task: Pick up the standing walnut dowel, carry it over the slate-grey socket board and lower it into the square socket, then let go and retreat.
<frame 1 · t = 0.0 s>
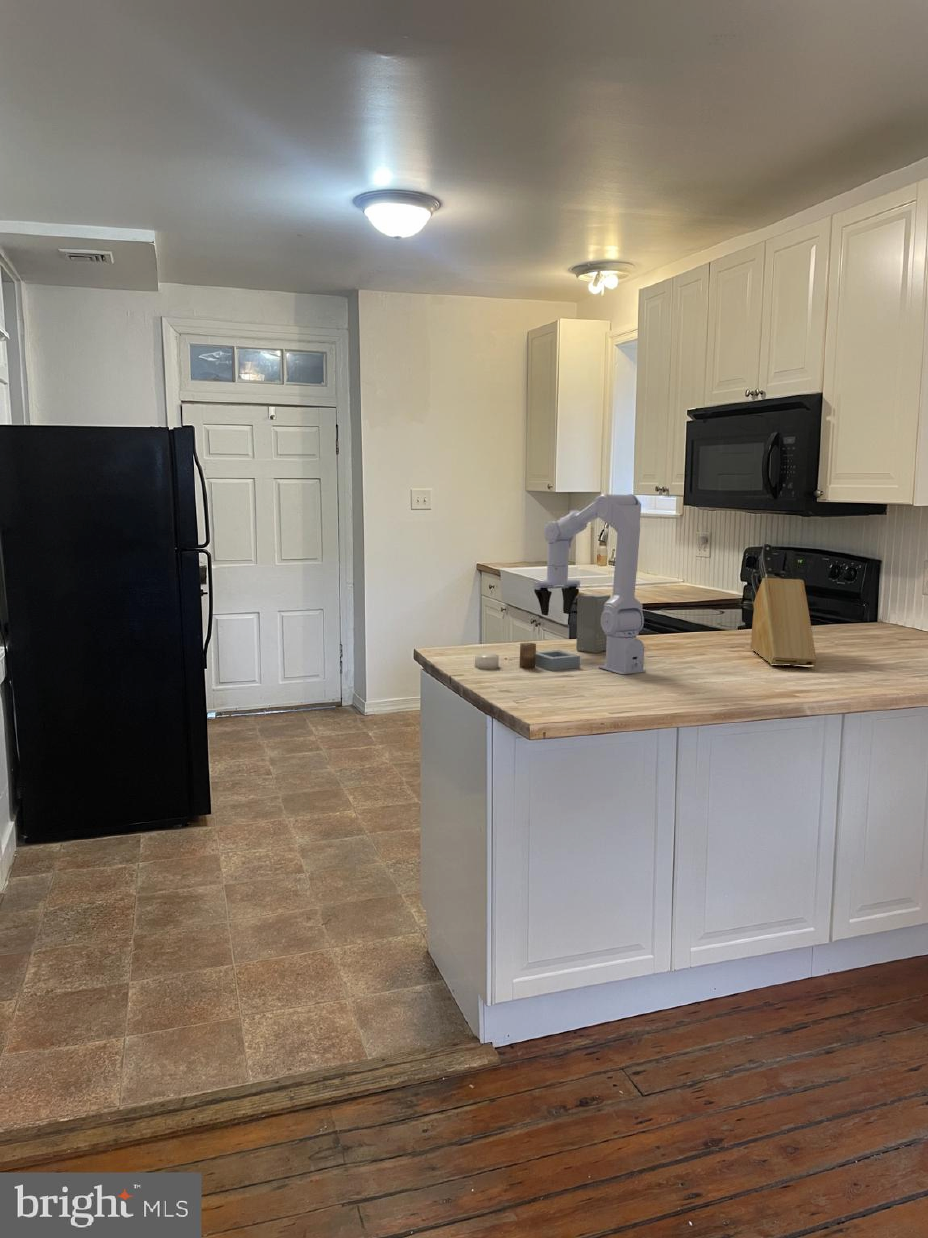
hand: (555, 614, 248), 10 cm above the worktop, tool pointing down, fingers open, 7 cm apart
walnut dowel: (527, 667, 226), on the worktop
knife block: (777, 658, 248), on the worktop
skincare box: (591, 650, 251), on the worktop, touching gripper
socket board: (554, 665, 229), on the worktop
ivory rounded cylinder: (486, 667, 226), on the worktop
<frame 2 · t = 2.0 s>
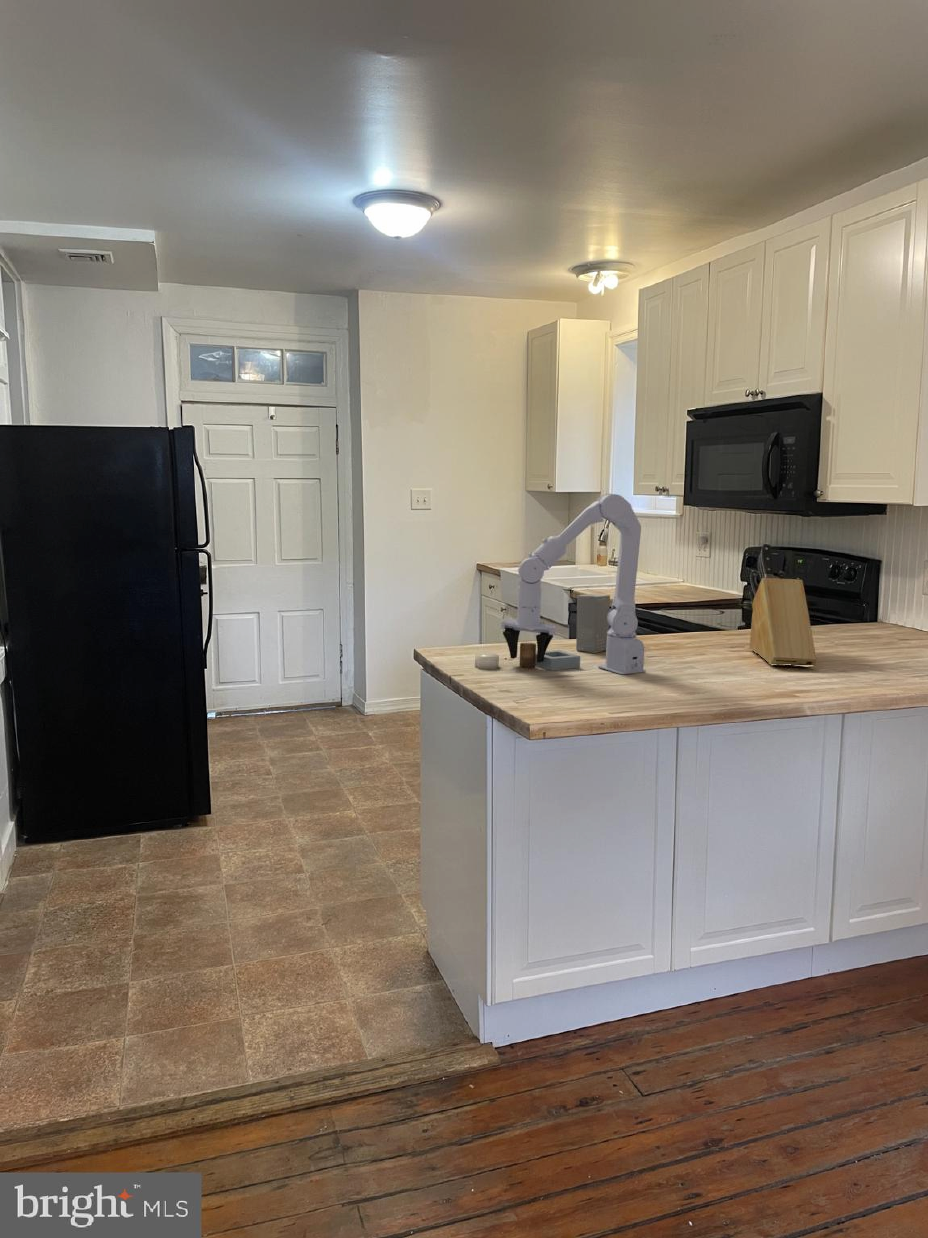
hand: (526, 659, 226), 2 cm above the worktop, tool pointing down, fingers open, 7 cm apart
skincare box: (591, 651, 251), on the worktop
everything else where it was.
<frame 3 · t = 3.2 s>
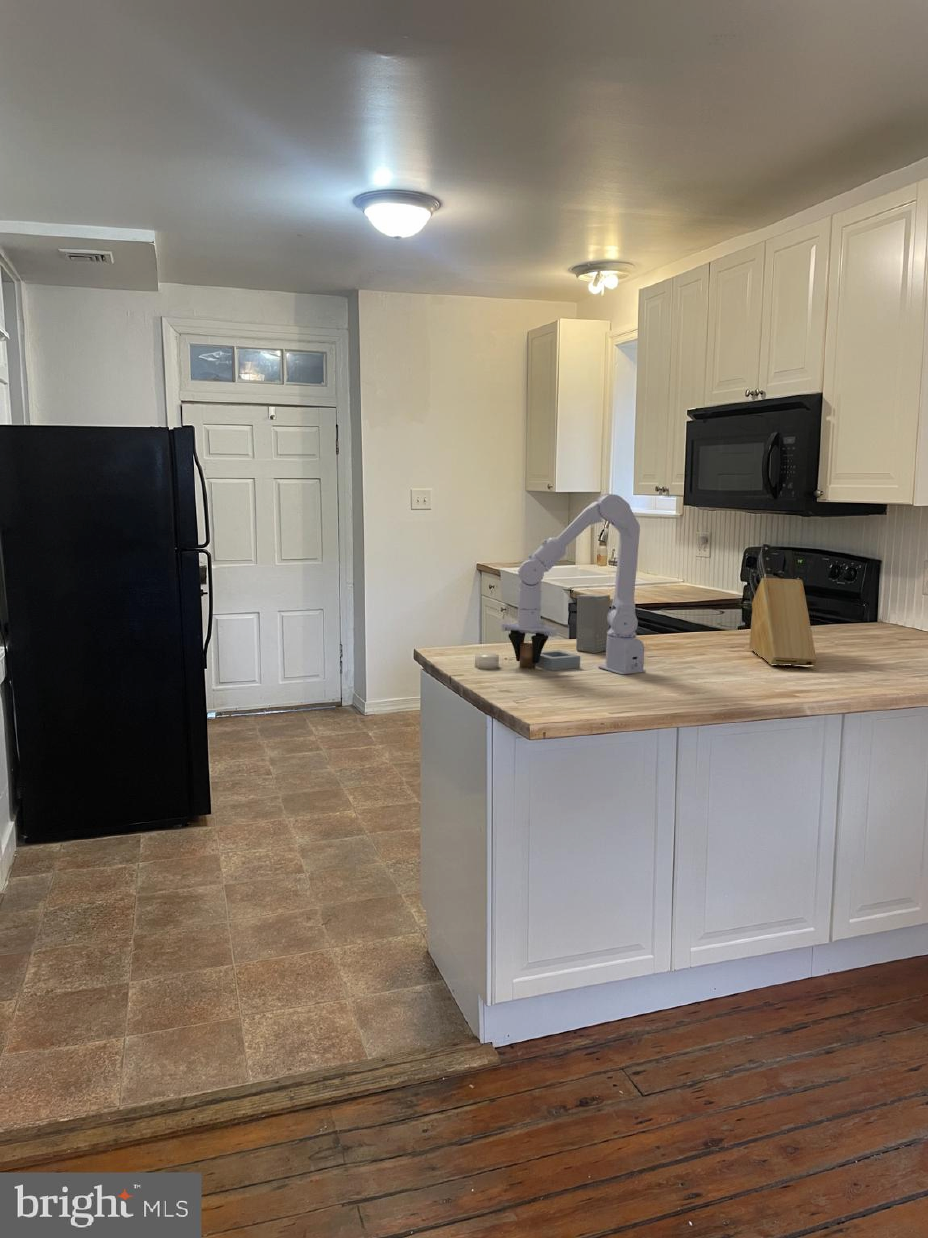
hand: (527, 661, 226), 1 cm above the worktop, tool pointing down, fingers closed on walnut dowel, 4 cm apart
walnut dowel: (527, 667, 226), on the worktop, touching gripper
everything else where it was.
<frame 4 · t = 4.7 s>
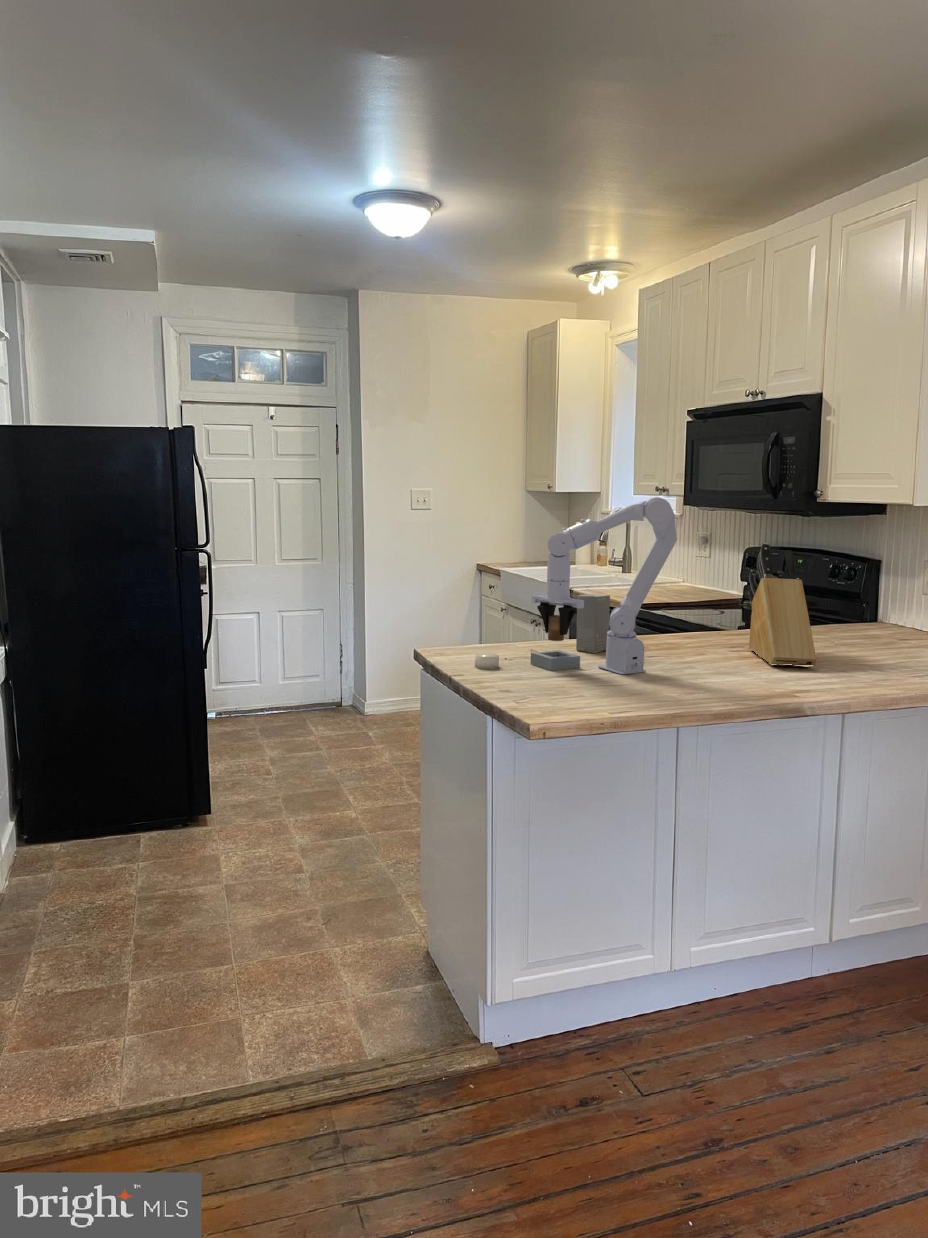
hand: (556, 633, 227), 8 cm above the worktop, tool pointing down, fingers closed on walnut dowel, 4 cm apart
walnut dowel: (555, 639, 228), point 7 cm above the worktop, touching gripper
everything else where it was.
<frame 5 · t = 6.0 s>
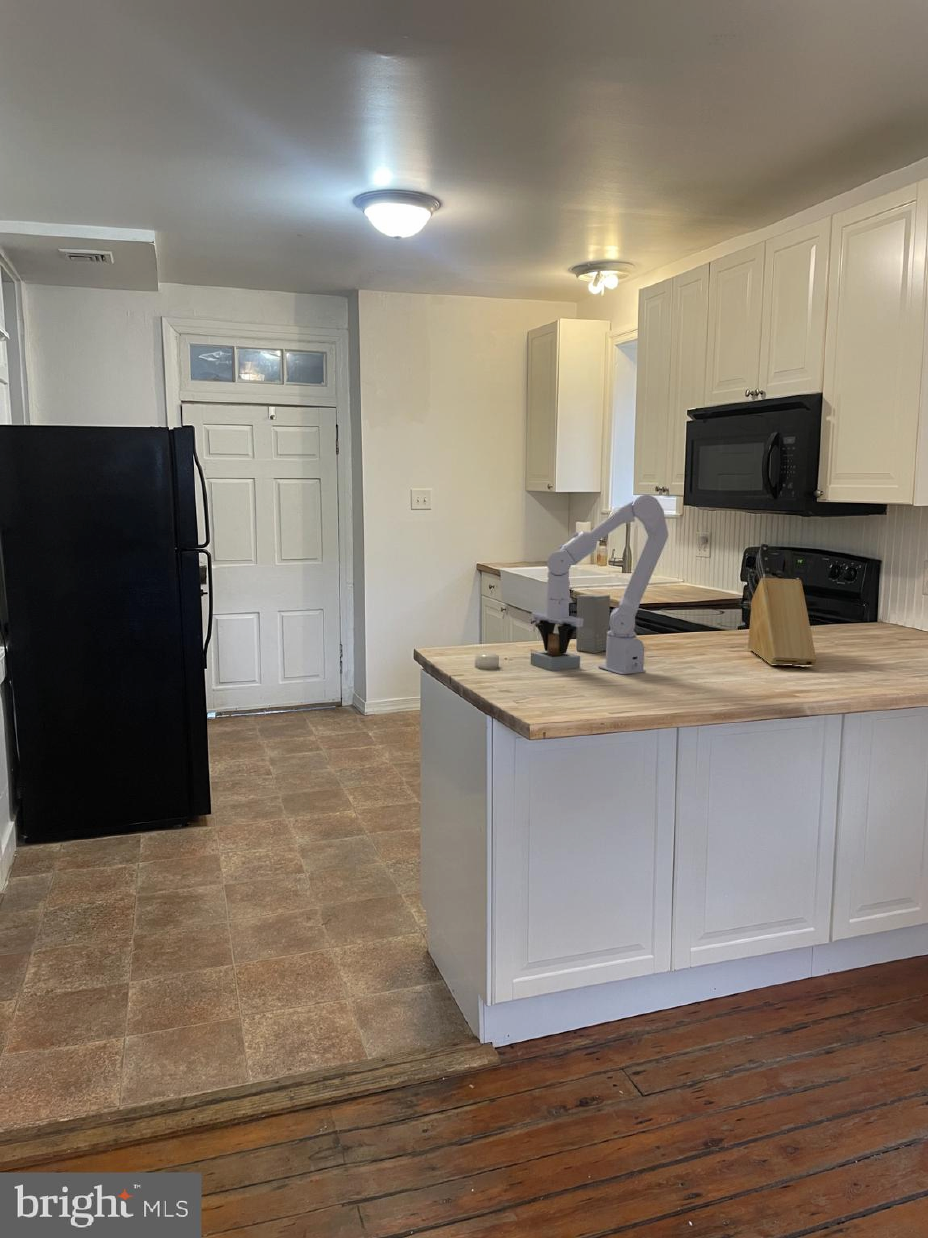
hand: (555, 651, 228), 4 cm above the worktop, tool pointing down, fingers closed on walnut dowel, 4 cm apart
walnut dowel: (555, 657, 228), point 2 cm above the worktop, touching gripper
everything else where it was.
when the fingers open (4 cm above the worktop, at t = 6.6 s): walnut dowel drops 2 cm, resting in socket board.
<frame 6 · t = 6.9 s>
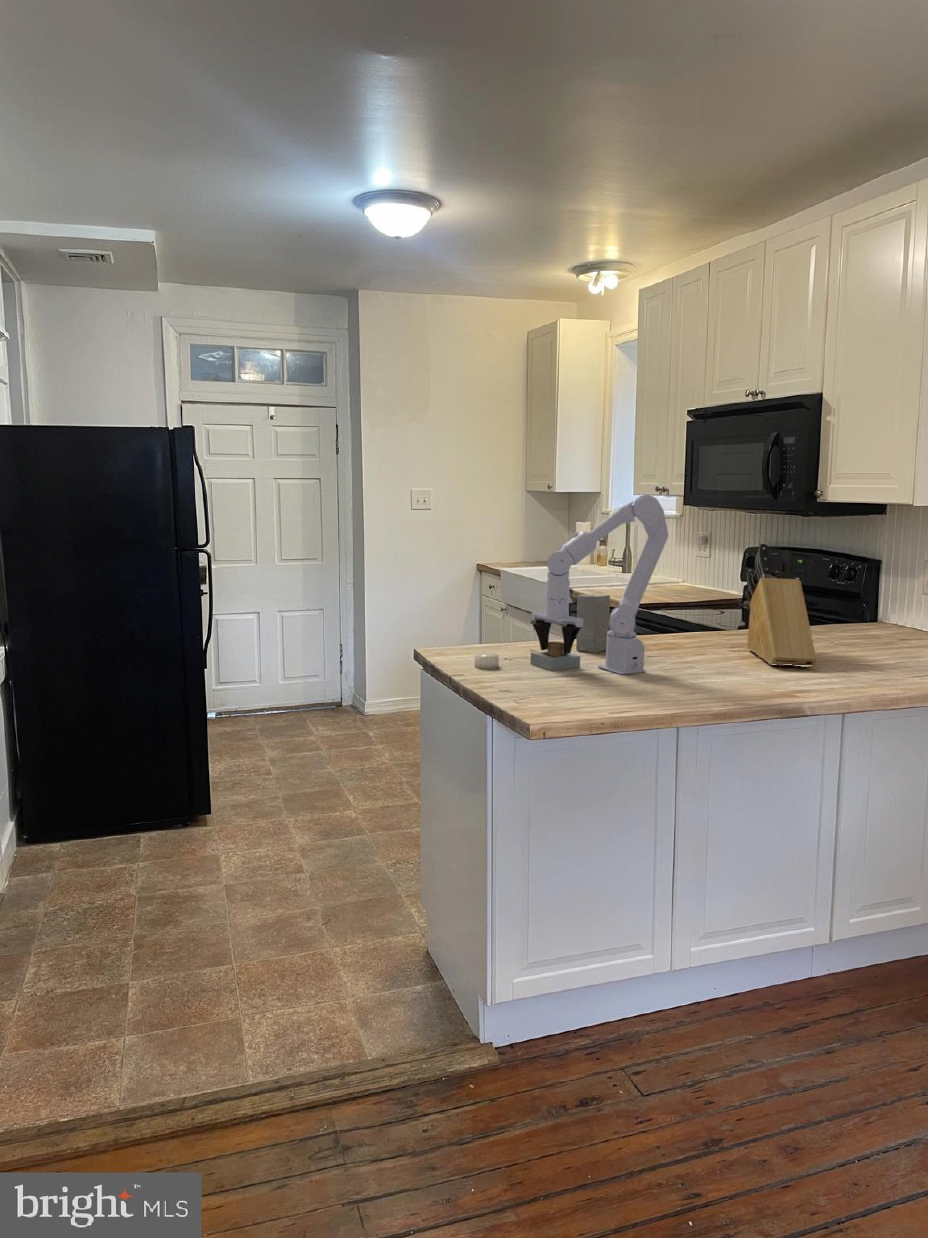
hand: (555, 651, 228), 4 cm above the worktop, tool pointing down, fingers open, 6 cm apart
walnut dowel: (554, 666, 229), resting in socket board
everything else where it was.
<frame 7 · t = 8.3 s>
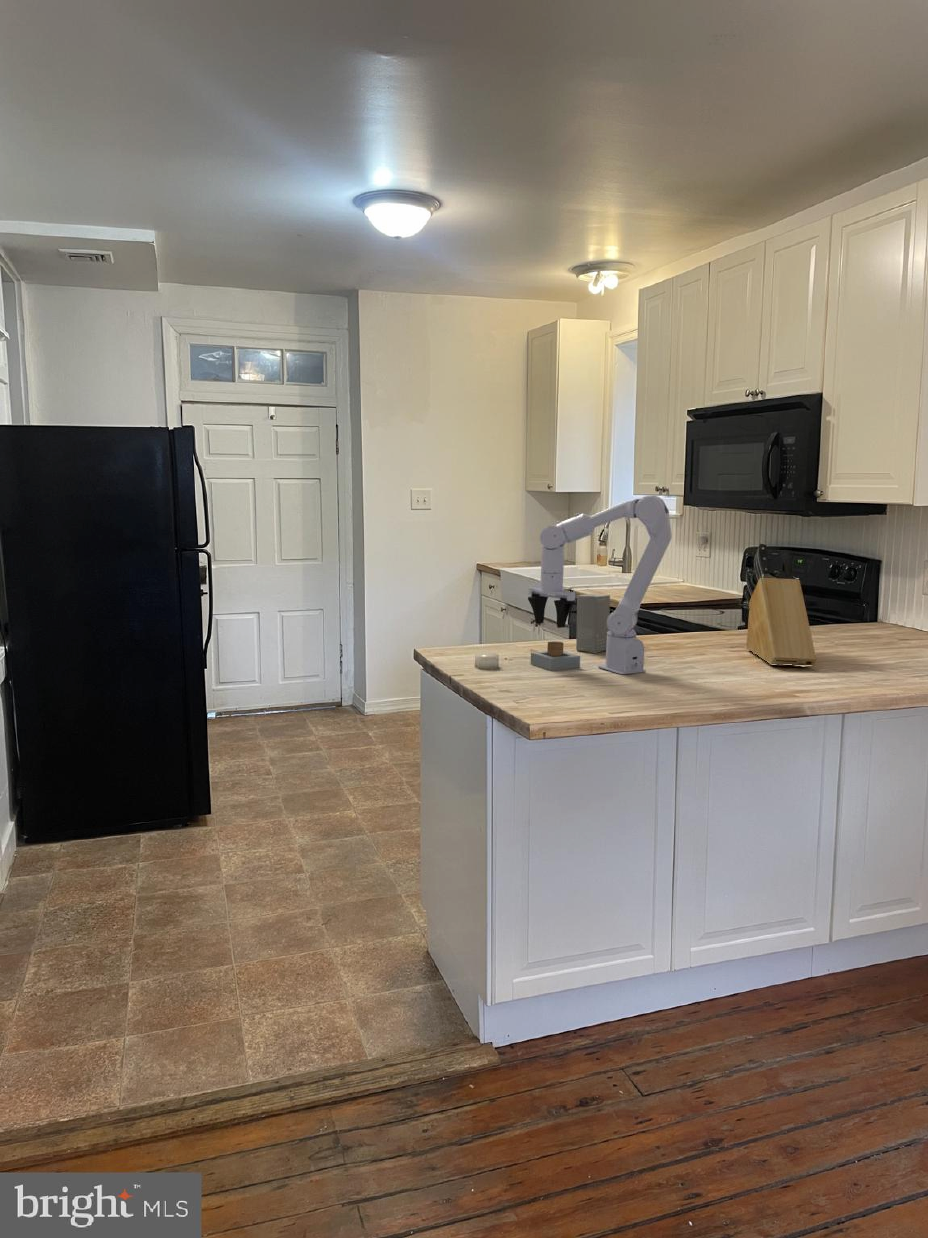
hand: (550, 625, 230), 10 cm above the worktop, tool pointing down, fingers open, 7 cm apart
nothing on the worktop moved.
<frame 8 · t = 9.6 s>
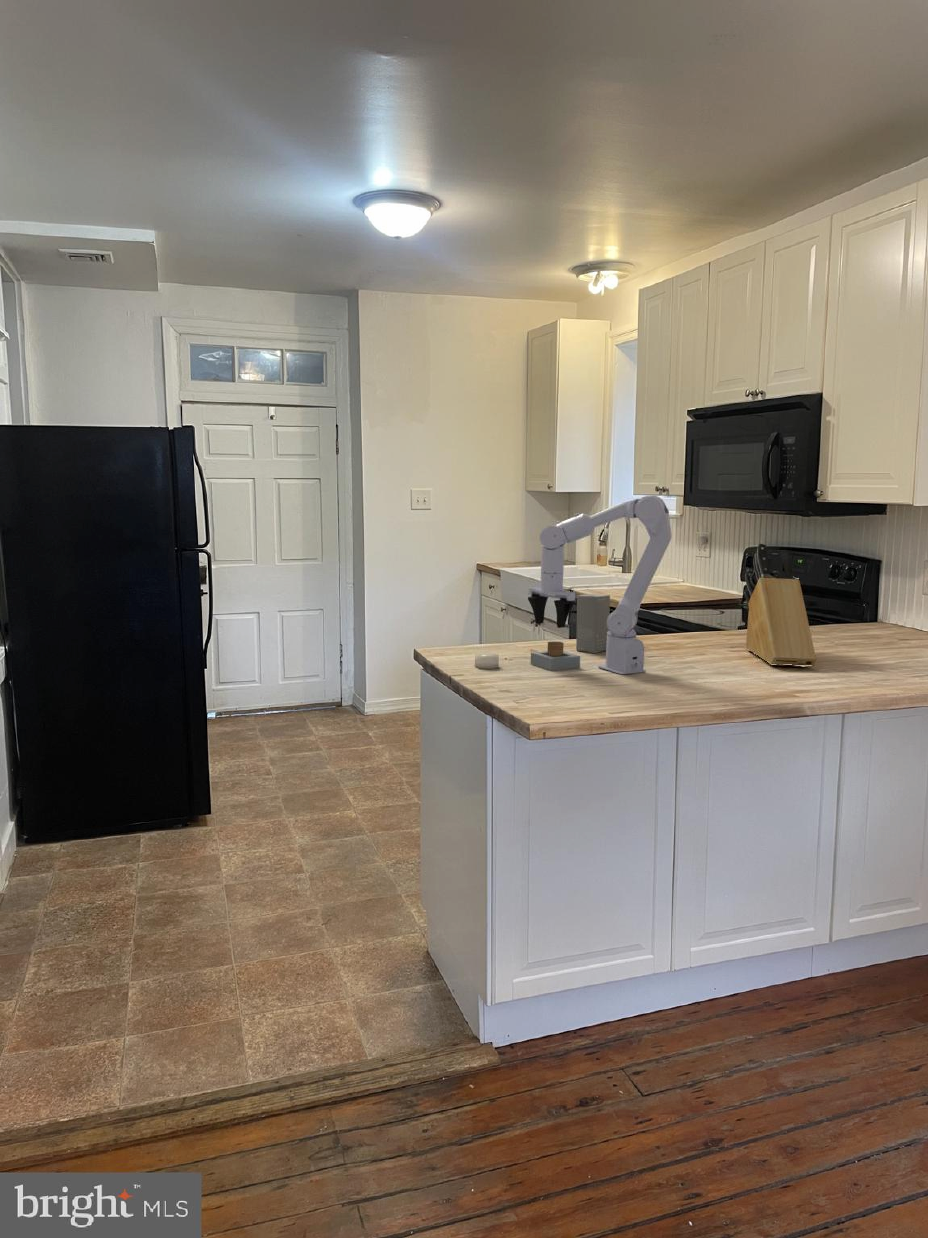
hand: (550, 625, 230), 10 cm above the worktop, tool pointing down, fingers open, 7 cm apart
nothing on the worktop moved.
at the end: walnut dowel 0.1 cm off-centre on the socket board, point 0.0 cm above the socket board's base; walnut dowel tilted 1°; the gripper is holding nothing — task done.
